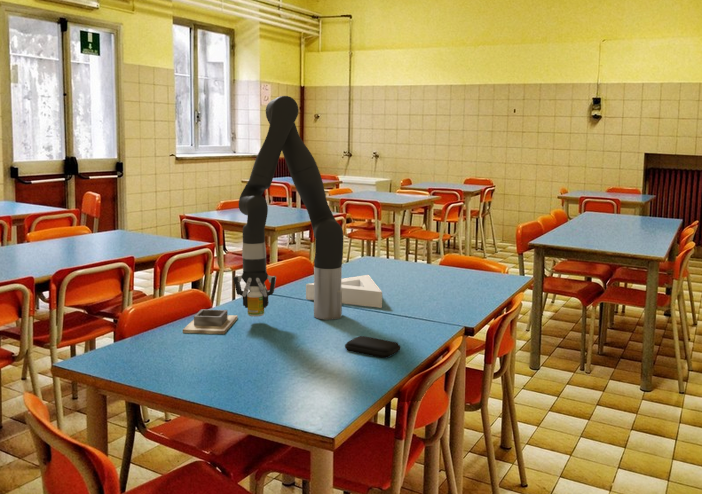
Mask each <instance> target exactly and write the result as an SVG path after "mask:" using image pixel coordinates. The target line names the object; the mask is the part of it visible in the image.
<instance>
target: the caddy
mask: <svg viewBox="0 0 702 494" xmlns="http://www.w3.org/2000/svg"><path fill="white" fill-rule="evenodd" d="M237 320H238V315H237V314H235V315H230V314H228V309H204V308H203V309H202V308H201V309H200V310H199V311H198V312H196V313H195V314H194V316H193V320H191V321H190V322H189V323H188V324H187V325H186V326H185V327H183V328H182V333H183V334H207V335H209V334H210V335H211V334H212V335H214V334H216V335H225V334H226V333H227V331H229V329H230V328H231V327H232V326H233V324H234V323H235V322H236V321H237Z"/></svg>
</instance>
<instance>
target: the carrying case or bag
mask: <svg viewBox="0 0 702 494" xmlns="http://www.w3.org/2000/svg"><path fill="white" fill-rule="evenodd" d="M344 348H345V350H346V351H348V352H350V353H356V354H361V355H365V356H371V357H376V358H381V359H388V358H390V357H392V356H393V355H395V354H396V353H397V354H398V352H399V351H400V350H401V349H402V348H401V345H400V344H399V343H398V342H396V341H391V340H386V339H381V338H376V337H370V336H365V335H359V336H357V337H355V338H351V340H348V341H347V342H346V343H345V344H344Z"/></svg>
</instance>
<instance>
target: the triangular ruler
mask: <svg viewBox="0 0 702 494" xmlns="http://www.w3.org/2000/svg"><path fill="white" fill-rule="evenodd" d="M341 287H342V304H345V305H353V306H363V307H364V306H365V307H373V308H380V309H381V308H383V291H382V290H381V288H379V286H378V285H377V284H376V282H375V281H374V280H373V279H372V277H371V276H370V275H369V274H364V275H358V276H350V277H345V278H343V277H342V278H341ZM305 300H309V301H311V300H312V301H314V282H312V283H306V284H305Z"/></svg>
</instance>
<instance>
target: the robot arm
mask: <svg viewBox="0 0 702 494" xmlns="http://www.w3.org/2000/svg"><path fill="white" fill-rule="evenodd" d="M298 105H299V104H298V103H297V101H296V99H295V98H293V97H291V96H288V95H282V96H281V95H280V96H278V97H275V98H273V99H271V100H270V101H269V102H268V103H267V104H266V107H265V117H266V119H267V121H268V123H269V127H268V130H267V134H266V137H265V139H264V141H263V143H262V146H261V147H260V149H259V151H258V154H257V156H256V157H255V159H254V164H253V166H252V170H251V173H250V176H249V179H248V181H247V183H246V184H245V186H244V188H243V190H242V191H241V192H240V193H241V194H240V196H239V199H238V210H239V211H240V213H241V214H242V215H244V216H247V217H246V219H247V220H246V224H244V225H243V226H242V250H241V256H242V274H241V275H235V276H234V277H233V284H234V287H235V291H236V295H238V296H241V297H242V306H243V307H244V308H247V309H248V307H247V293H248V292H250V290H249V286H259V287H260V290H261V291H262V293H263V295H264V297H263V308H264V309H266V308H267V307H268V306H269V304H270V303H269V296H272V295H273V293H274V292H275V287H276V282H277V281H276V280H277V276H276V275H269V274H268V272H267V248H266V237H265V236H266V235H265V228H266V224H267V219H268V213H269V209H268V207H269V206H268V202H267V200H266V198H265V197H263V194H264V192H265V191H266V190H268V189H270V188H271V184H272V183H273V179H274V177H275V173H276V169H277V167H278V163H279V160H280V158H281V154H282V156H283V157H284V160H285V163H286V166H287V169H288V171H289V175H290V177H291V180H292V182H293V185H294V187H295V188H296V191H297V193H298V196H299V197H300V199H301V202H302V203H303V205H304V206H305V208H306V211H307V213H308V217H309V220H310V224H311V229H312V231H313V232H312V233H313V236H314V239H315V241H314V242H315V243H314V244H315V247H314V249H315V250H314V252H315V253H314V258H313V259H314V260H313V276H314V277H313V283H314V300H313V317H314V318H316V319H318V320H337V319H338V320H339V319H341V318H342V314H343V313H342V311H343V308H342V307H343V303H342V287H341V279H342V278H343V277H342V276H343V275H342V271H343V270H342V268H343V267H342V266H343V265H342V264H343V258H344V257H343V255H344V230H343V228H342V226H341V225H340V223H339V222H338V221H337V219H336V218H335V216H334V214H333V212H332V209H331V208H330V205H329V203H328V201H327V197H326V191H325V187H324V182H323V177H322V175H321V172H320V170H319V167H318V164H317V162H316V160H315V157H314V156H313V154H312V153H311V151H310V149H309V148H308V147H307V145H306V144H305V142H303V139H302V138H301V136H300V134H299V130H298V129H297V125H296V120H297V118H298V115H299V112H300V111H299V106H298ZM242 280H243V282H244V283H245V286H244V289H242V287H241V282H242ZM267 280H268V282H269V283H270V285H269V290H268V289H267V286H266V281H267Z"/></svg>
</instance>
